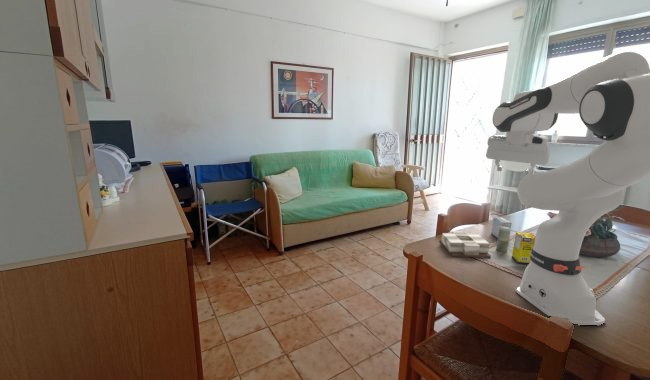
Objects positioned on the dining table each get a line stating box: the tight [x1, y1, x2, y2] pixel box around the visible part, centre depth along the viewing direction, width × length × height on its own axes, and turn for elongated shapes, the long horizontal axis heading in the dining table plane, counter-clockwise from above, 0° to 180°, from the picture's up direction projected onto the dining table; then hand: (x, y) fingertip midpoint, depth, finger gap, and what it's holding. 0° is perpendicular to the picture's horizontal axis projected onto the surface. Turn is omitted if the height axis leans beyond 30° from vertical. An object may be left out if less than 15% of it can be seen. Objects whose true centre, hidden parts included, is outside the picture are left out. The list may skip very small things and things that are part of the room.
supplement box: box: [511, 231, 536, 265], centre depth 116 cm, size 6×6×11 cm
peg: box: [496, 226, 512, 253], centre depth 126 cm, size 4×4×10 cm
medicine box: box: [491, 216, 513, 239], centre depth 140 cm, size 8×4×9 cm, turn 179°
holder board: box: [439, 230, 492, 259], centre depth 127 cm, size 16×16×5 cm
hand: (512, 172), depth 115 cm, fingers open, 8 cm apart
